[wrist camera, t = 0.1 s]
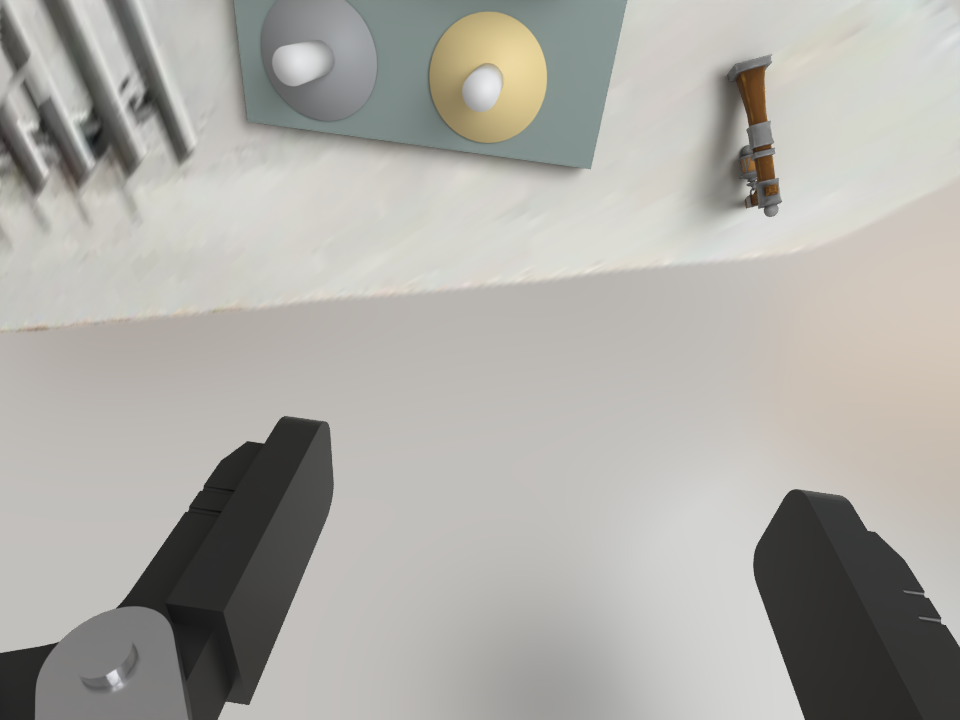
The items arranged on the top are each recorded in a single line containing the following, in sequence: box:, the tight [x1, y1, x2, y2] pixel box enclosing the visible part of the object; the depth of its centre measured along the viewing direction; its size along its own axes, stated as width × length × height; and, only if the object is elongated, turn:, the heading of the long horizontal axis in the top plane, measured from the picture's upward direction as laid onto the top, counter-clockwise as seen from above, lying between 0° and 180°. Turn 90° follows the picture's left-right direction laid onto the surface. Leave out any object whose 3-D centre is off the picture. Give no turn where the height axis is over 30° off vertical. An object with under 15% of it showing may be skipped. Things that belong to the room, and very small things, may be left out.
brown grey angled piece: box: [728, 54, 782, 217], centre depth 32 cm, size 2×8×5 cm, turn 16°
